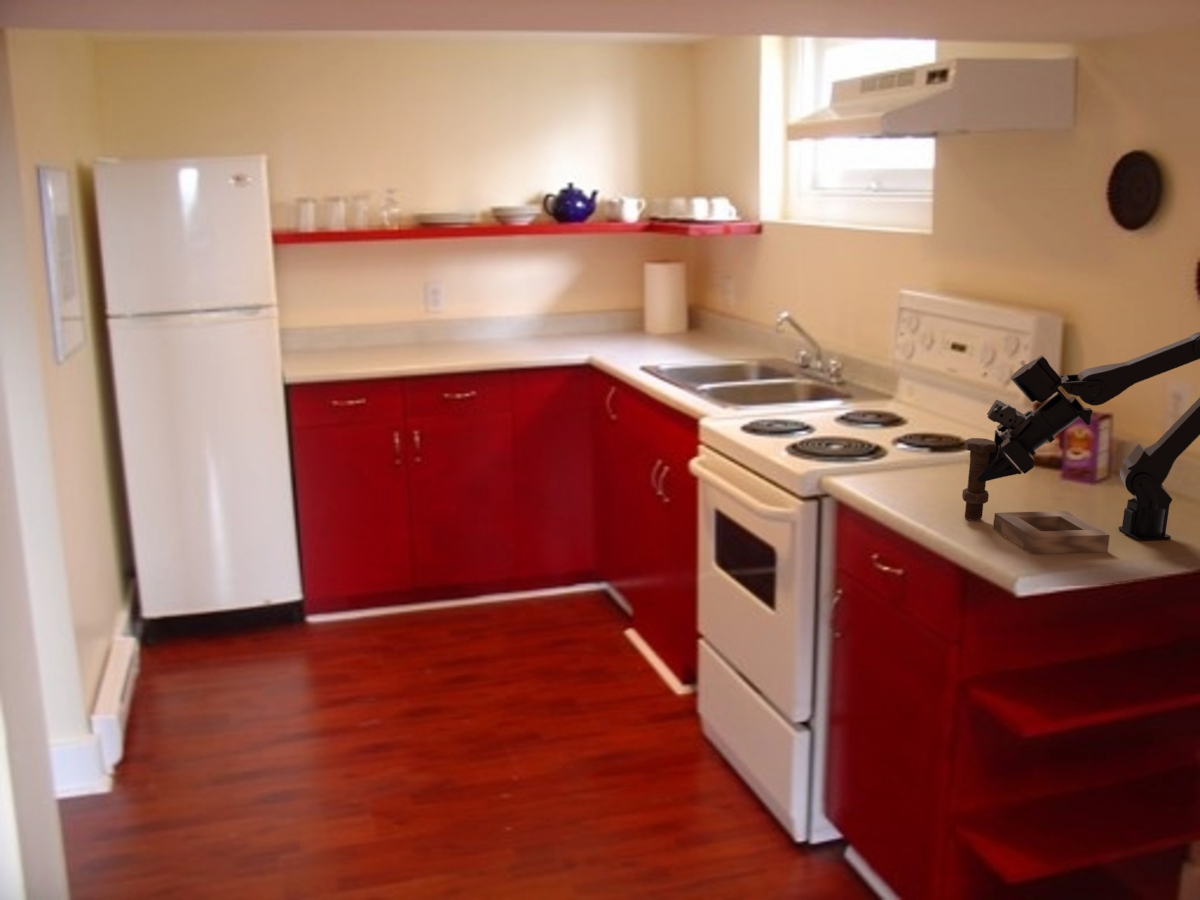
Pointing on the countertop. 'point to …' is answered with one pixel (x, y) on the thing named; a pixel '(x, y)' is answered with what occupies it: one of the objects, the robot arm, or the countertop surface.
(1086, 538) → the jig
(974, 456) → the bolt
